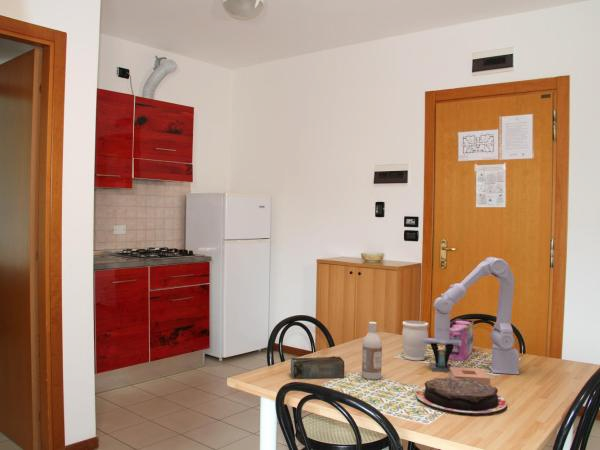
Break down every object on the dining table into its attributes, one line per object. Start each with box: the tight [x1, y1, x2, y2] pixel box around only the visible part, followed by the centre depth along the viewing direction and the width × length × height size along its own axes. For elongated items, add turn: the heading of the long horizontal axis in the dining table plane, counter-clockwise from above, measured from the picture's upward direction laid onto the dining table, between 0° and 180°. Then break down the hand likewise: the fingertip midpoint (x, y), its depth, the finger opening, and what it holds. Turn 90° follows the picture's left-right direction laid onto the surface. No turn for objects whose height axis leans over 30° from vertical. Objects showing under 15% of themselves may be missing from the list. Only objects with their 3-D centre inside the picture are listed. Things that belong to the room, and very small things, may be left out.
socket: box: [448, 366, 491, 386], centre depth 188 cm, size 12×12×3 cm
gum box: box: [448, 318, 474, 362], centre depth 225 cm, size 24×8×14 cm, turn 152°
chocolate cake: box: [415, 376, 508, 417], centre depth 167 cm, size 28×28×7 cm
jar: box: [401, 320, 429, 362], centre depth 217 cm, size 11×10×15 cm
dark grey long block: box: [290, 355, 345, 380], centre depth 190 cm, size 8×19×7 cm, turn 99°
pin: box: [437, 349, 446, 367], centre depth 202 cm, size 3×3×7 cm
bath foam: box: [361, 321, 383, 381], centre depth 189 cm, size 7×7×20 cm
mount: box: [429, 362, 453, 373], centre depth 202 cm, size 8×8×1 cm
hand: (441, 363), depth 202 cm, fingers closed on pin, 3 cm apart
